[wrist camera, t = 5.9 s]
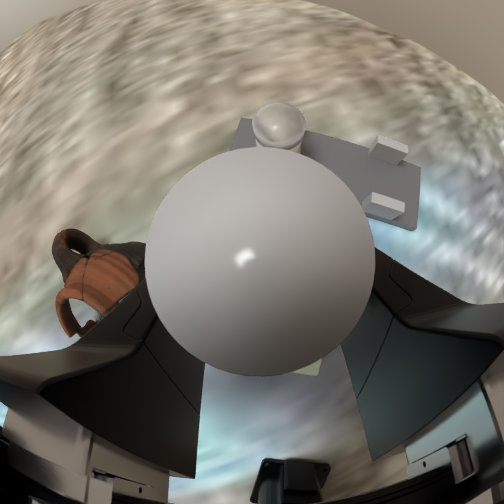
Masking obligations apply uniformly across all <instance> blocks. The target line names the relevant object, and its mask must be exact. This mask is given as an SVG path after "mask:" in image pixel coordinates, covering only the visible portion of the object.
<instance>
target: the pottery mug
mask: <svg viewBox="0 0 504 504" xmlns="http://www.w3.org/2000/svg"><path fill="white" fill-rule="evenodd" d="M71 249H73V250H76V251H78V252H79V253H80V254H77V253H75V252H73V251H72V250H71ZM145 250H146V244H145V243H141V242H128V243H122V244H111V245H108V244H106V245H101V244H99V243H97V242H96V241H94V240H93V239H92V238H91V237H90V236H88V235H87V234H85V233H84V232H82V231H79V230H77V229H66V230H62V231H61V232H60V233H58V234H57V235H56V236H55V239H54V242H53V245H52V254H53V257H54V260H55V262H56V264H57V265H58V267H59V269H60V271H61V273H62V276H63V281H64V283H65V285H64V287H65V288H63V289H62V290H61V291H60V292H59V293H58V295H57V297H56V312H57V316H58V318H59V321H60V323H61V325H62V327H63V329H64V331H65V333H66V334H67V335H68V337H72V336H73V335H74V334H76V333H77V334H78V335H79V336H80V337H83V336H84V335H85V334H86V333H87V332H88V331H89V330H90V329H91V328H93V327H94V326H95V325H96V324H97V323H96V322H94V321H93V320H89V321H87V322H86V325H85V326H84V327H82V328H81V326H80V325H79V323H78V322H77V320H76V319H75V317H74V315H73V313H72V311H71V307H70V303H69V298H74V299H78V300H81V301H84V302H85V303H86V304H88V305H90V306H91V307H92V308H93V309H95V310H96V311H97V312H98V313H99V314H100V315H102V316H103V317H105V316H106V315H107V314H109V313H110V312H111V311H112V310H113V309H114V308H115V307H116V306H117V305H118V304H119V303H118V301H119V300H120V299H122V298H123V297H124V296H125V295H126V294H127V293H129V292H130V291H131V290H133V289H135V288H136V287H137V284H138V282H139V275H138V273H137V272H136V269H137V268H138V267H139V265H140V263H141V262H145Z"/></svg>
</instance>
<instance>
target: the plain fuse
mask: <svg viewBox="0 0 504 504" xmlns="http://www.w3.org/2000/svg"><path fill="white" fill-rule="evenodd" d="M252 126H253V133H254V137H255V139H256V147H270V148H279V149H284V150H288V151H292V152H296V153H299V154H300V153H301V148H300V146H301V141H302V140H303V137H304V133H305V129H306V120H305V117H304V115H303V113H302V112H301V111H300V110H299V109H298V108H297V107H295V106H293V105H291V104H289V103H285V102H271V103H268V104H265V105H263V106H262V107H260V108H259V109H258V110H257V111H256V112H255V114H254V116H253V119H252Z"/></svg>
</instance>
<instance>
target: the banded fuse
mask: <svg viewBox="0 0 504 504" xmlns="http://www.w3.org/2000/svg"><path fill="white" fill-rule="evenodd" d="M374 273H375V248H374V242H373V236H372V232H371V229H370V226H369V223H368V220H367V217H366V215H365V213H364V211H363V209H362V207H361V205H360V203H359V202H358V200H357V199H356V197H355V196H354V194H353V193H352V192H351V190H350V189H349V188H348V187H347V186H346V184H345V183H344V182H343V181H342V180H341V179H340V178H339V177H337V176H336V175H335V174H334V173H333V172H332V171H330V170H329V169H327V168H326V167H325V166H323V165H322V164H320V163H318V162H316V161H315V160H313V159H311V158H309V157H306V156H304V155H301V154H299V153H296V152H292V151H288V150H284V149H279V148H270V147H250V148H243V149H237V150H233V151H229V152H225V153H222V154H220V155H217V156H215V157H212V158H210V159H208V160H207V161H205V162H203V163H201V164H199V165H198V166H196V167H195V168H194V169H192V170H191V171H189V172H188V173H187V174H186V175H185V176H183V177H182V178H181V179H180V180H179V181H178V182H177V183H176V184H175V185H174V186H173V188H172V189H171V190H170V191H169V192H168V194H167V195H166V197H165V198H164V200H163V201H162V203H161V204H160V206H159V208H158V210H157V212H156V214H155V216H154V218H153V221H152V224H151V227H150V230H149V233H148V238H147V243H146V250H145V276H146V281H147V287H148V291H149V295H150V298H151V301H152V304H153V306H154V308H155V310H156V312H157V314H158V316H159V318H160V320H161V322H162V323H163V325H164V326H165V328H166V329H167V331H168V332H169V333H170V334H171V335H172V337H173V338H174V339H175V340H176V341H177V342H178V343H179V344H180V345H181V346H182V347H183V348H184V349H186V350H187V351H188V352H189V353H190V354H192V355H193V356H195V357H196V358H198V359H200V360H201V361H203V362H205V363H207V364H209V365H211V366H213V367H215V368H217V369H220V370H224V371H227V372H230V373H234V374H240V375H245V376H272V375H280V374H284V373H289V372H293V371H296V370H298V369H301V368H304V367H306V366H309V365H311V364H312V363H314V362H316V361H318V360H319V359H321V358H323V357H324V356H326V355H327V354H328V353H330V352H331V351H332V350H334V349H335V348H336V347H337V346H338V345H339V344H340V343H341V342H342V341H343V340H344V339H345V338H346V337H347V336H348V335H349V333H350V332H351V331H352V329H353V328H354V327H355V325H356V324H357V322H358V321H359V319H360V317H361V315H362V313H363V312H364V310H365V307H366V305H367V302H368V300H369V297H370V294H371V290H372V285H373V281H374Z"/></svg>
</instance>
